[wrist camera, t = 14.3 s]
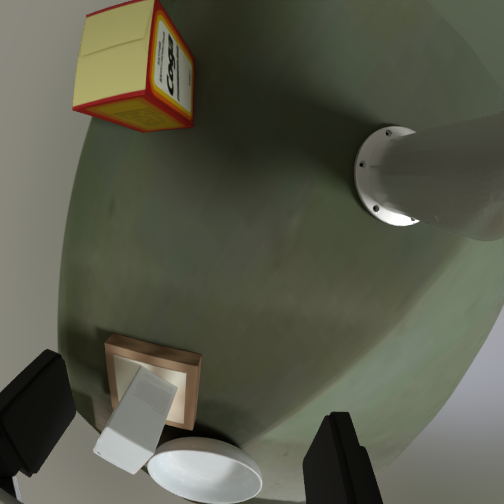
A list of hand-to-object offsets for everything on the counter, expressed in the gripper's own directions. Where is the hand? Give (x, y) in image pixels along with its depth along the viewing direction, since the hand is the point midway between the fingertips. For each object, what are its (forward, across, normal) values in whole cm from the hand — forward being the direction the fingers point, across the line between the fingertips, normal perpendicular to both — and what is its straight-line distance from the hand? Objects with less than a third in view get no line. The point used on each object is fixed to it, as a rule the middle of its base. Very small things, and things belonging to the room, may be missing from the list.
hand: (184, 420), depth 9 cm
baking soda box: (+28, +12, -17) cm, 35 cm away
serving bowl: (+29, 0, +42) cm, 51 cm away
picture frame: (+28, +10, +24) cm, 38 cm away
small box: (+25, +10, +24) cm, 36 cm away
